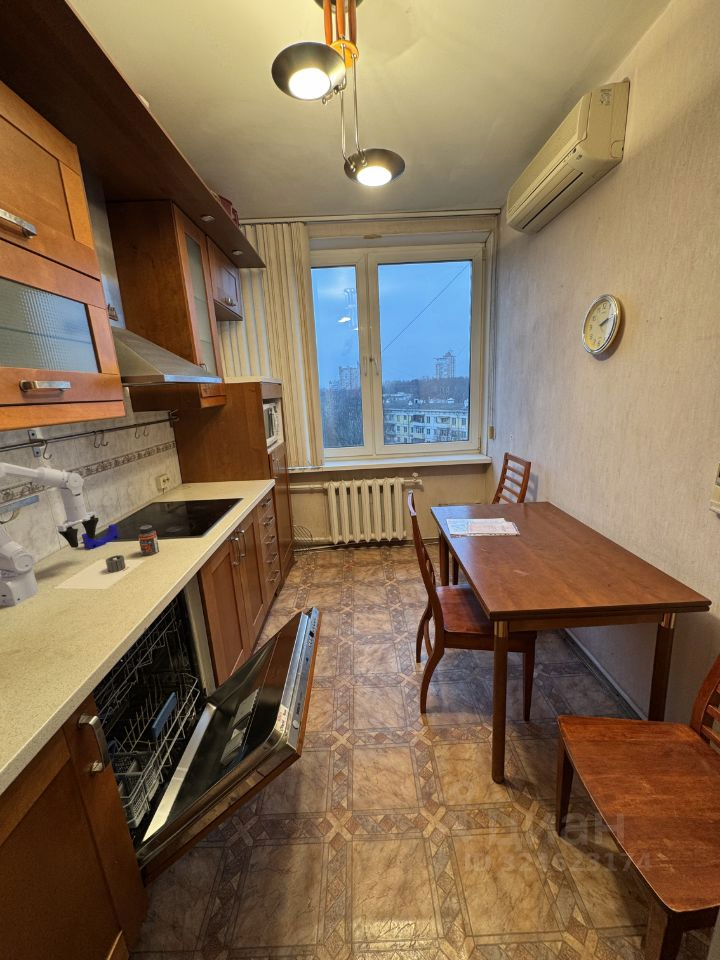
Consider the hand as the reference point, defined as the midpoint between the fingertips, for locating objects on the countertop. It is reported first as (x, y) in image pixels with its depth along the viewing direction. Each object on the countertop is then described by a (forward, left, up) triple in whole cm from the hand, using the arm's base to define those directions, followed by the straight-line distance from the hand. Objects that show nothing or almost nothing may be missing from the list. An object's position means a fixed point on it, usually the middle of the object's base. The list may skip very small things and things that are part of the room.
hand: (83, 542), depth 134 cm
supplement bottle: (+10, -17, -10) cm, 22 cm away
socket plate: (-6, -10, -9) cm, 15 cm away
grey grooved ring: (-3, -13, -9) cm, 16 cm away
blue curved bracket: (+20, +11, -10) cm, 25 cm away
